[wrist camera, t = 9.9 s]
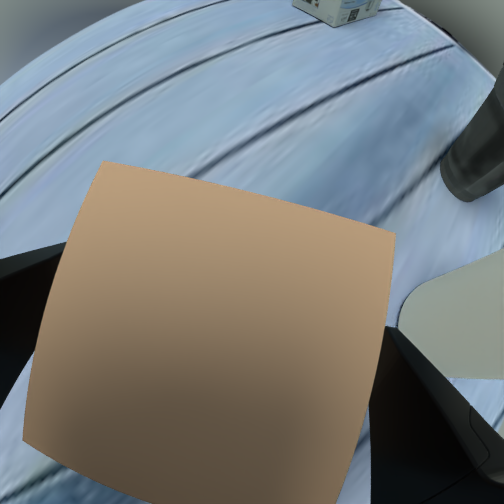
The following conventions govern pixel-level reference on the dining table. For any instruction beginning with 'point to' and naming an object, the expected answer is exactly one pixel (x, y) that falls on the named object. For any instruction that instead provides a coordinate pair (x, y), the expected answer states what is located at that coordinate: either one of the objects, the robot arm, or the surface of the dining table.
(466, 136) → the beverage cup
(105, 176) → the tall block
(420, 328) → the can
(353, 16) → the light bulb box
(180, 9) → the dining table surface
